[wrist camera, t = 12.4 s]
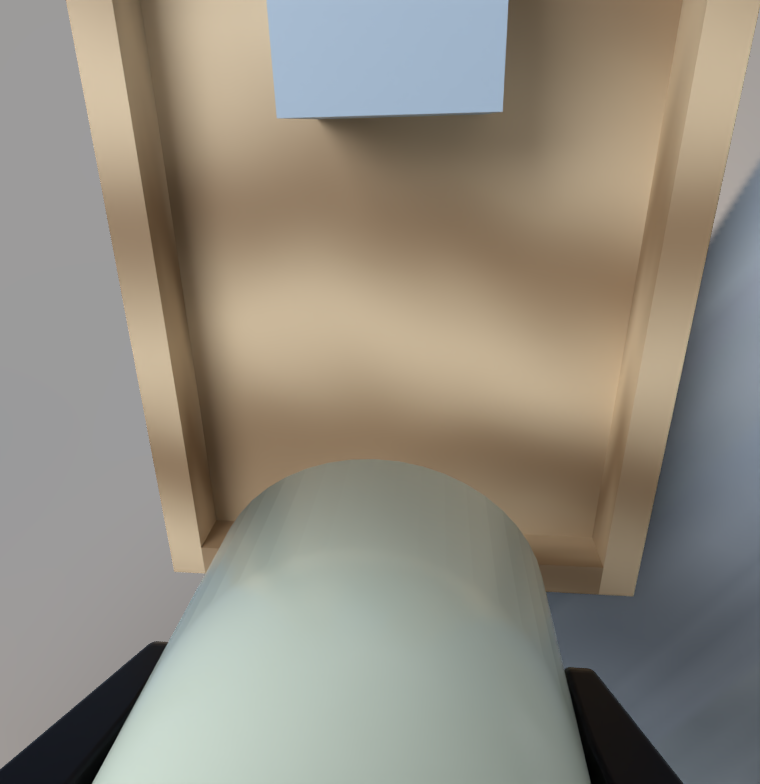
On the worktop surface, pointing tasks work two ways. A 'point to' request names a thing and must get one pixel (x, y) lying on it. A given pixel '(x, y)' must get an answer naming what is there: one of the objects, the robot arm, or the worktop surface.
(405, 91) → the block
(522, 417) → the tray
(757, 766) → the worktop surface
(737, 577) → the worktop surface
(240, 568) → the cup
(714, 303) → the worktop surface
